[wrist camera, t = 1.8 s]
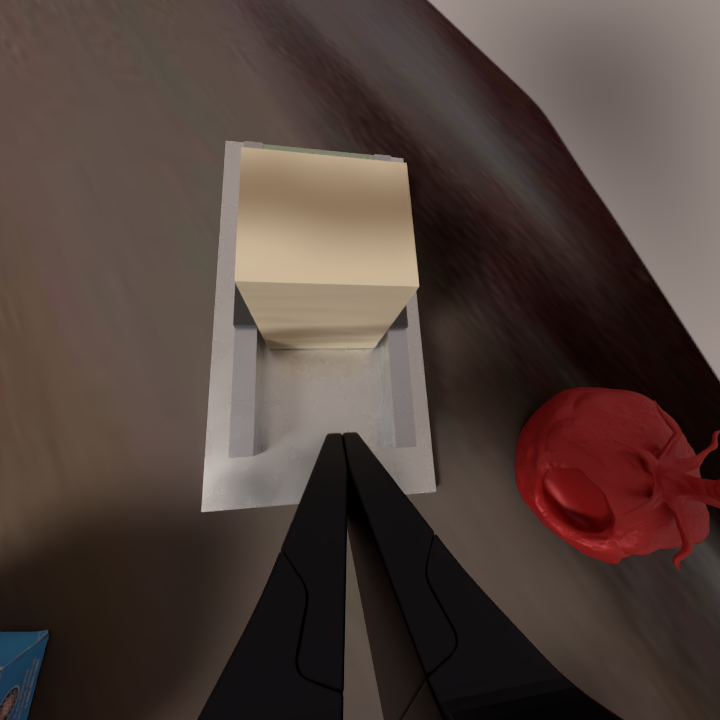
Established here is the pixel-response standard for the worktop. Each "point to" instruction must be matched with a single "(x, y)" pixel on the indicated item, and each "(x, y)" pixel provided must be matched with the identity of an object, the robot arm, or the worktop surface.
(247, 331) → the chute
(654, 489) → the pomegranate
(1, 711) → the ink box
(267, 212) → the block
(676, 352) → the worktop surface
